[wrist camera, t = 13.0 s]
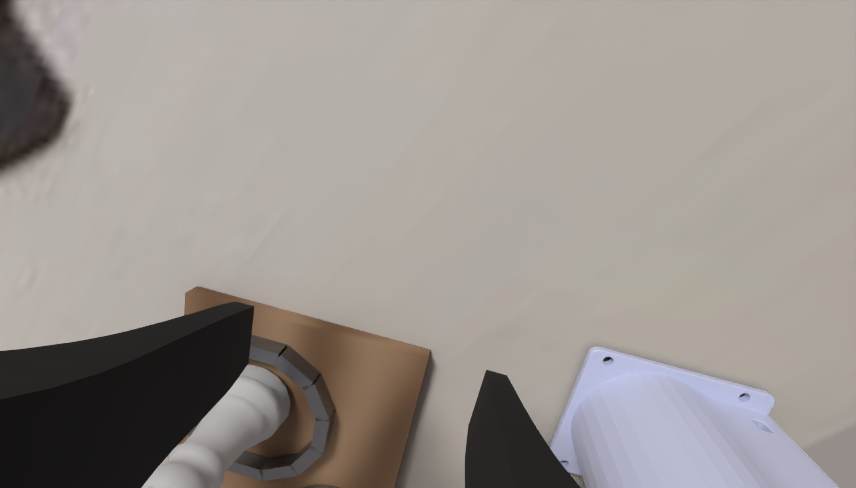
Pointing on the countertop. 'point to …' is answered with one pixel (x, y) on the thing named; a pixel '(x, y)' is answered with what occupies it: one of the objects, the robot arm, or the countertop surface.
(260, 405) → the rook chess piece
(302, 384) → the socket ring
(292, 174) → the countertop surface
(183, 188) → the countertop surface
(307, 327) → the carrier board
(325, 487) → the silver metal dome
